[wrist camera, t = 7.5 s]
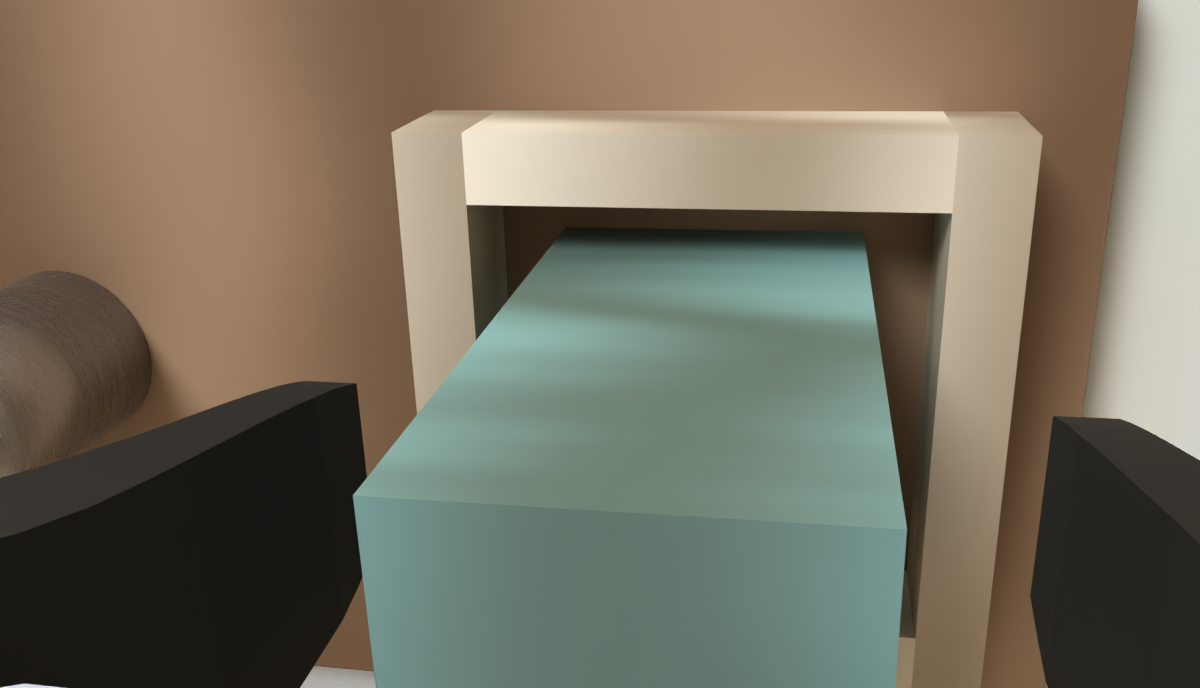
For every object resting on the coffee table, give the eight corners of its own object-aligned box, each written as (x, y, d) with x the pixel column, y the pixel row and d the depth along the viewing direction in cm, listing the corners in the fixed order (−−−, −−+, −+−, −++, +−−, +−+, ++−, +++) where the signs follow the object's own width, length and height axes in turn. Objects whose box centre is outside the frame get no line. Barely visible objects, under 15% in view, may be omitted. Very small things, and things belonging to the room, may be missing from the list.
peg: (576, 485, 15) (403, 903, 9) (566, 227, 14) (352, 496, 8) (848, 501, 15) (875, 964, 8) (863, 232, 13) (907, 529, 7)
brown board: (-72, 592, 19) (-192, 682, 17) (-240, -18, 16) (-419, -6, 14) (1025, 686, 16) (1059, 815, 14) (1120, -46, 13) (1187, -35, 10)
